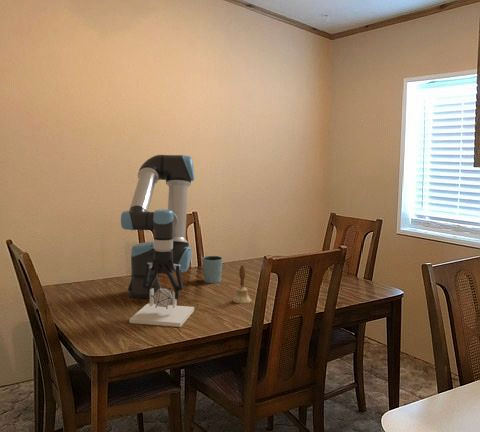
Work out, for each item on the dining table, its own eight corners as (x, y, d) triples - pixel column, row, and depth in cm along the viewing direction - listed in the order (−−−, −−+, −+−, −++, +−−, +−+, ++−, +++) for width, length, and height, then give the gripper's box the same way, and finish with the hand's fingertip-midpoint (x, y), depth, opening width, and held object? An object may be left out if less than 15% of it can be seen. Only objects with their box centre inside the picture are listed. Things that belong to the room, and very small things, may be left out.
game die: (167, 315, 201) (183, 295, 202) (158, 314, 194) (174, 293, 194) (152, 301, 205) (167, 281, 205) (142, 299, 197) (158, 279, 197)
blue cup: (226, 280, 257) (226, 257, 255) (214, 285, 248) (214, 260, 247) (209, 277, 262) (210, 254, 260) (198, 281, 254) (198, 258, 252)
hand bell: (245, 304, 218) (246, 268, 216) (229, 301, 222) (229, 265, 220) (255, 300, 225) (255, 264, 223) (239, 296, 229) (239, 262, 227)
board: (194, 310, 209) (194, 306, 208) (180, 327, 189) (180, 323, 189) (147, 306, 212) (147, 303, 212) (129, 322, 192) (129, 319, 192)
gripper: (192, 249, 199) (192, 305, 202) (140, 246, 202) (140, 301, 205) (187, 253, 192) (186, 311, 194) (133, 250, 195) (133, 307, 198)
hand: (163, 306), depth 200 cm, fingers closed on game die, 9 cm apart
